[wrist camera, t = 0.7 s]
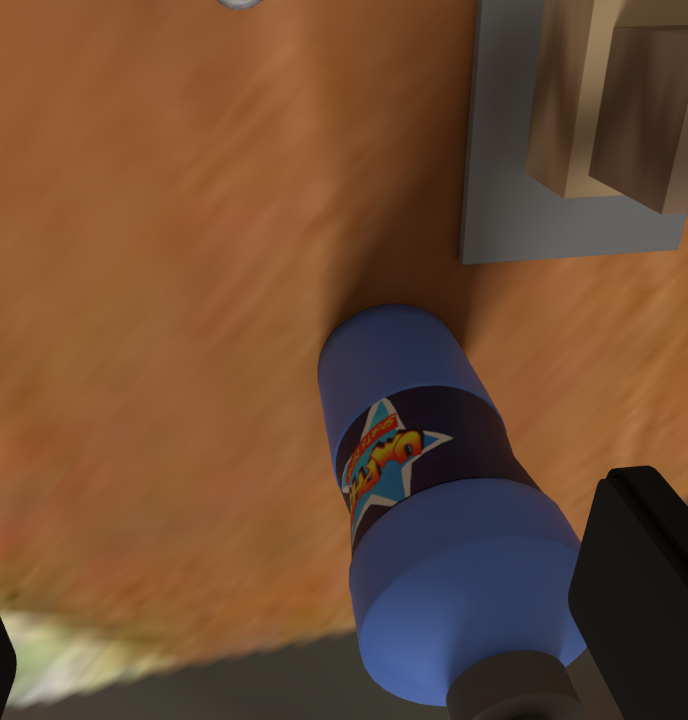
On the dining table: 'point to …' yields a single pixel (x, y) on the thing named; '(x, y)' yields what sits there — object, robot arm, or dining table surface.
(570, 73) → the base block
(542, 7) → the slate board
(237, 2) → the flask
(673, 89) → the walnut cube
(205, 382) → the dining table surface
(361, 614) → the water bottle
